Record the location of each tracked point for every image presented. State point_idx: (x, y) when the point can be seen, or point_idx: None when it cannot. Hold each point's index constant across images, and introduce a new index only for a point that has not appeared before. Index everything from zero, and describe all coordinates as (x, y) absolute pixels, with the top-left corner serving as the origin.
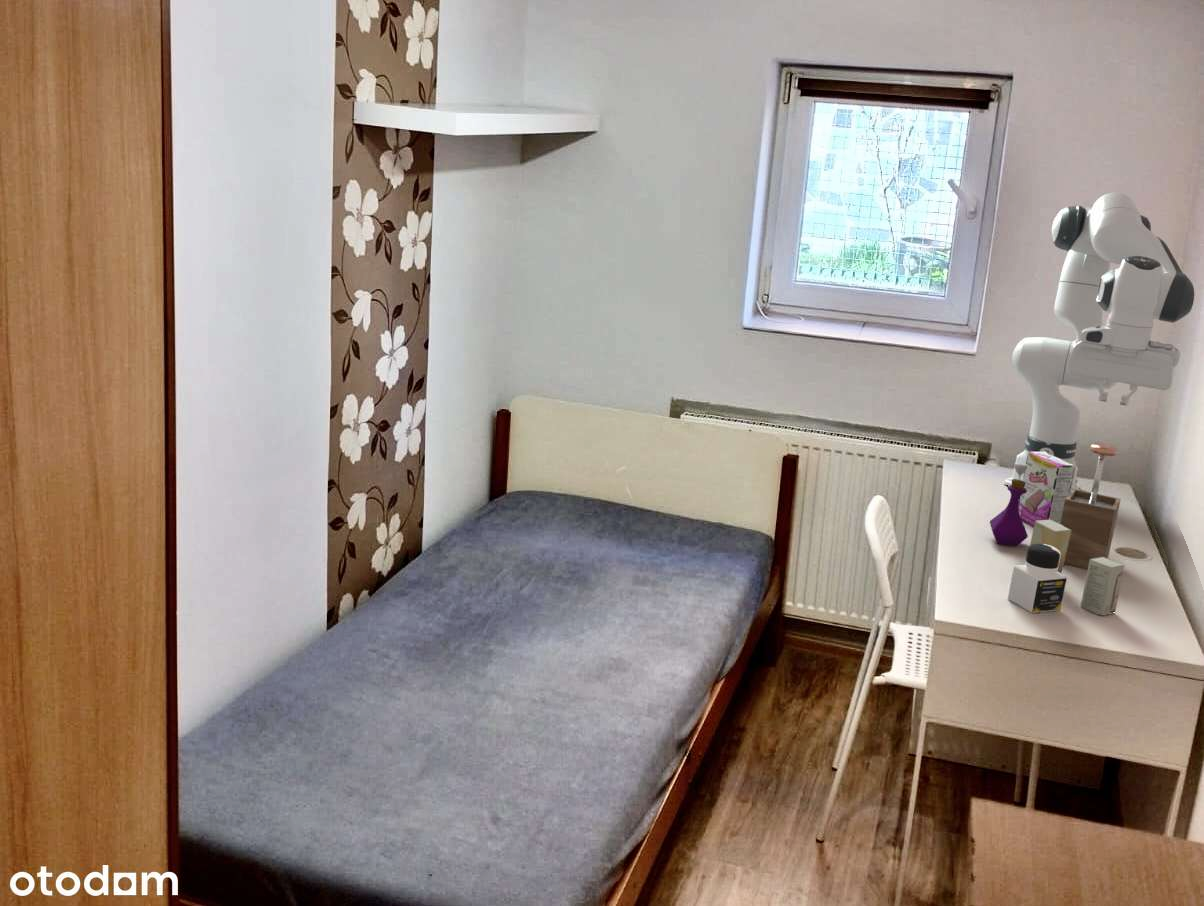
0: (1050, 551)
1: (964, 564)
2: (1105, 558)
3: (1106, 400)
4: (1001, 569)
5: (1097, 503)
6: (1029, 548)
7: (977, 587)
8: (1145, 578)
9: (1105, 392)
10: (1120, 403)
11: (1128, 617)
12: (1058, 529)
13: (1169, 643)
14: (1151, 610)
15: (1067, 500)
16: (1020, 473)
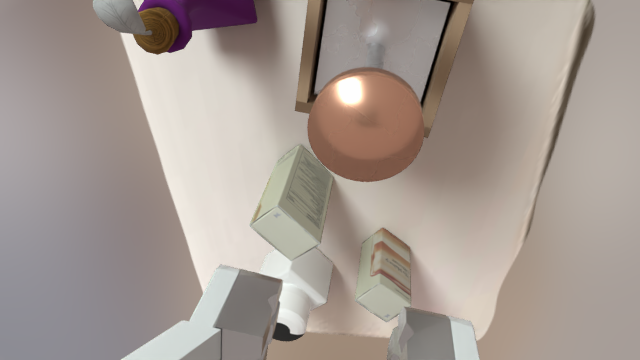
0: (288, 339)
1: (186, 154)
2: (382, 288)
3: (278, 297)
4: (241, 148)
5: (395, 28)
6: None
7: (224, 232)
8: (514, 58)
9: (234, 345)
10: (390, 353)
11: (428, 252)
12: (295, 252)
13: (466, 306)
14: (473, 216)
15: (301, 111)
16: (138, 33)
